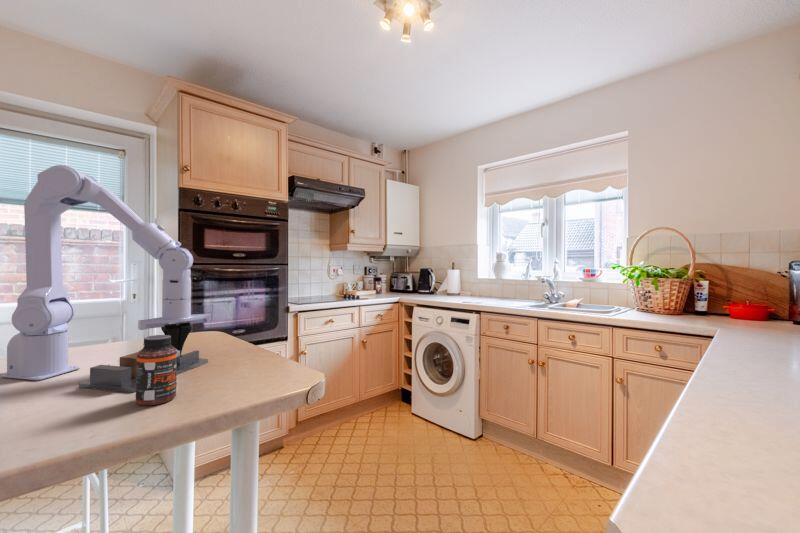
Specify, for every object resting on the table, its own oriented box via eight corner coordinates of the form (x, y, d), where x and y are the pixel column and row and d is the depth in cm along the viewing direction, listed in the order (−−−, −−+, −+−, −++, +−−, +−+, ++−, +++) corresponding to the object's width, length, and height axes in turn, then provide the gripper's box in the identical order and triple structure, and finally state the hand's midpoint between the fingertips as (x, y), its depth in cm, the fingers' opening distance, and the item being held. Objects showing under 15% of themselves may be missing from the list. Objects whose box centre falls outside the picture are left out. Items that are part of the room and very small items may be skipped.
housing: (119, 376, 71) (119, 357, 71) (143, 368, 77) (143, 350, 77) (138, 378, 70) (138, 358, 70) (161, 370, 76) (161, 351, 76)
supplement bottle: (155, 408, 59) (156, 341, 58) (126, 405, 60) (127, 339, 60) (184, 395, 64) (185, 334, 64) (157, 392, 66) (157, 332, 65)
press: (78, 387, 67) (79, 366, 67) (164, 358, 87) (164, 343, 87) (132, 392, 65) (133, 371, 65) (208, 362, 85) (208, 345, 85)
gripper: (202, 295, 91) (202, 347, 91) (134, 299, 79) (134, 358, 80) (214, 297, 86) (213, 352, 86) (143, 302, 75) (143, 365, 75)
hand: (176, 355), depth 83 cm, fingers closed
